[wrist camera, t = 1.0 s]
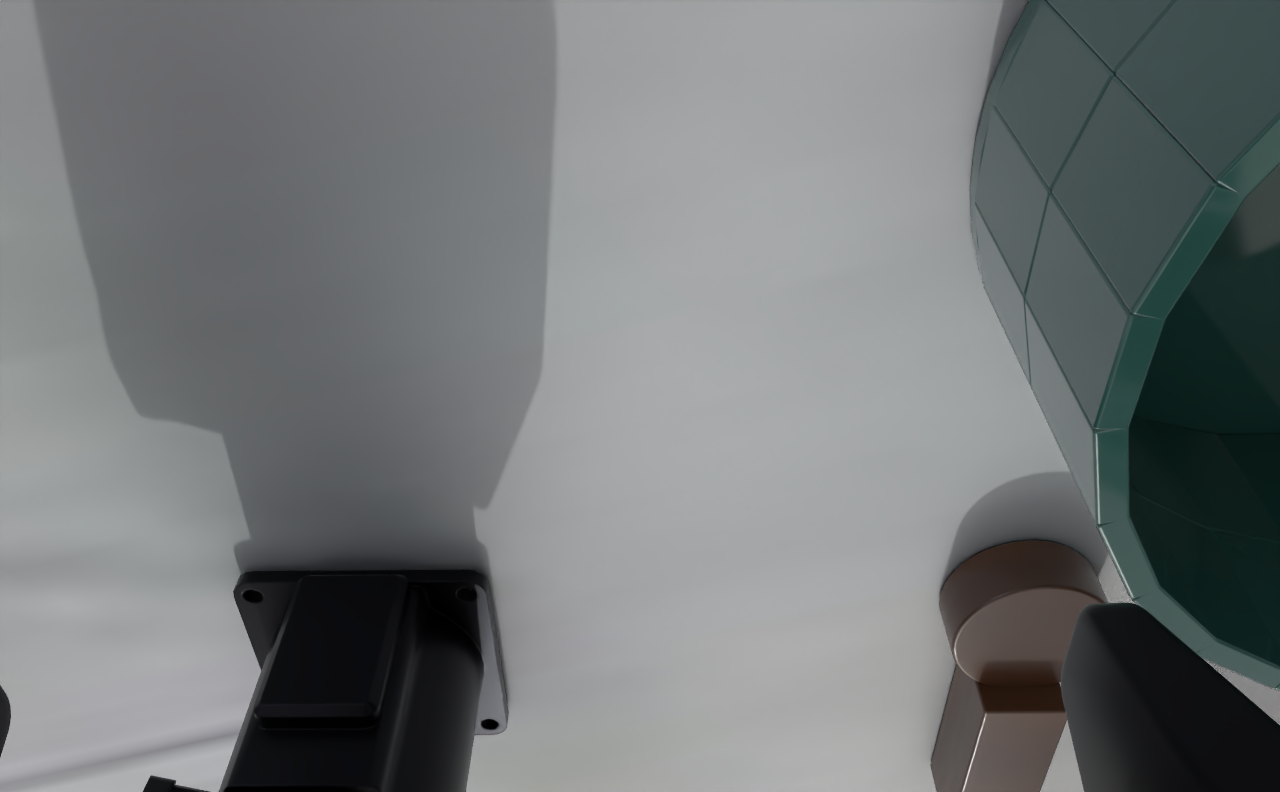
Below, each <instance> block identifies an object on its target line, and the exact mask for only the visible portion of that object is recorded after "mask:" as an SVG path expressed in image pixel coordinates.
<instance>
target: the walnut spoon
mask: <svg viewBox="0 0 1280 792" xmlns="http://www.w3.org/2000/svg"><path fill="white" fill-rule="evenodd" d="M1102 603H1108V601H1107V598H1106V596H1105V594H1104V592H1103V589H1102V587H1101V585H1100V583H1099V580H1098V578H1097V576H1096V574H1095V572H1094V569H1093V567H1092V566H1091V564H1090V563H1089V562H1088V561H1087V559H1086V558H1085V557H1083V556H1082V555H1081V554H1079V553H1078V552H1077V551H1075V550H1073V549H1071V548H1070V547H1067V546H1064V545H1062V544H1058V543H1054V542H1048V541H1038V540H1028V541H1017V542H1010V543H1006V544H1002V545H998V546H995V547H992V548H989V549H987V550H985V551H982V552H980V553H978V554H976V555H975V556H973V557H971V558H970V559H968V560H967V561H965V562H964V563H963V564H961V565H960V566H959V567H958V568H957V569H956V570H955V571H954V572H953V573H952V574H951V575H950V577H949V578H948V579H947V581H946V583H945V584H944V586H943V589H942V592H941V595H940V602H939V605H940V612H941V615H942V619H943V622H944V626H945V630H946V633H947V637H948V640H949V644H950V647H951V651H952V654H953V658H954V660H955V662H956V664H957V665H956V669H955V673H954V677H953V681H952V685H951V689H950V692H949V696H948V700H947V704H946V708H945V712H944V716H943V719H942V723H941V727H940V731H939V735H938V739H937V743H936V747H935V750H934V754H933V758H932V762H931V770H932V774H933V778H934V783H935V787H936V791H937V792H1040V790H1041V787H1042V785H1043V782H1044V779H1045V777H1046V774H1047V771H1048V769H1049V766H1050V764H1051V761H1052V758H1053V756H1054V753H1055V750H1056V748H1057V745H1058V742H1059V740H1060V737H1061V734H1062V732H1063V729H1064V726H1065V724H1066V721H1067V716H1066V712H1065V707H1064V703H1063V698H1062V691H1061V686H1060V683H1059V682H1061V671H1062V667H1063V663H1064V660H1065V656H1066V653H1067V650H1068V647H1069V643H1070V640H1071V637H1072V633H1073V630H1074V627H1075V623H1076V620H1077V617H1078V615H1079V613H1080V611H1081V610H1082V609H1083V608H1084V607H1085V606H1086V605H1089V604H1102Z"/></svg>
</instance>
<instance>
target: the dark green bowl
mask: <svg viewBox="0 0 1280 792" xmlns="http://www.w3.org/2000/svg"><path fill="white" fill-rule="evenodd" d="M970 208H971V232H972V237H973V242H974V247H975V253H976V258H977V263H978V268H979V271H980V274H981V277H982V283H983V285H984V289H985V291H986V293H987V295H988V297H989V300H990V302H991V304H992V306H993V308H994V310H995V312H996V314H997V317H998V319H999V321H1000V323H1001V325H1002V327H1003V329H1004V331H1005V334H1006V336H1007V338H1008V340H1009V342H1010V344H1011V346H1012V348H1013V351H1014V353H1015V355H1016V357H1017V359H1018V361H1019V363H1020V365H1021V368H1022V370H1023V372H1024V374H1025V376H1026V378H1027V380H1028V382H1029V385H1030V387H1031V389H1032V391H1033V393H1034V395H1035V397H1036V399H1037V402H1038V404H1039V406H1040V408H1041V410H1042V412H1043V414H1044V416H1045V419H1046V421H1047V423H1048V425H1049V427H1050V429H1051V431H1052V433H1053V436H1054V438H1055V440H1056V442H1057V444H1058V446H1059V448H1060V450H1061V453H1062V455H1063V457H1064V459H1065V461H1066V463H1067V465H1068V467H1069V470H1070V472H1071V474H1072V476H1073V478H1074V480H1075V482H1076V484H1077V487H1078V489H1079V491H1080V493H1081V495H1082V497H1083V499H1084V501H1085V504H1086V506H1087V508H1088V510H1089V512H1090V514H1091V516H1092V518H1093V521H1094V523H1095V525H1096V527H1097V529H1098V531H1099V533H1100V535H1101V538H1102V540H1103V542H1104V544H1105V546H1106V548H1107V550H1108V552H1109V554H1110V557H1111V559H1112V561H1113V563H1114V565H1115V567H1116V569H1117V571H1118V573H1119V576H1120V578H1121V580H1122V582H1123V584H1124V586H1125V588H1126V590H1127V593H1128V595H1129V596H1130V597H1131V599H1132V601H1133V602H1135V603H1136V604H1137V605H1138V606H1140V607H1142V608H1144V609H1145V610H1147V611H1148V612H1149V613H1150V614H1151V615H1153V616H1154V617H1155V618H1156V619H1157V620H1158V621H1159V622H1161V623H1162V624H1163V625H1164V626H1165V627H1166V628H1168V629H1169V630H1170V631H1171V632H1172V633H1173V634H1175V635H1176V636H1177V637H1178V638H1179V639H1180V640H1181V641H1183V642H1184V643H1185V644H1186V645H1187V646H1188V647H1190V648H1191V649H1192V650H1193V651H1194V652H1195V653H1196V654H1198V655H1199V656H1200V657H1201V658H1202V659H1205V660H1207V661H1209V662H1212V663H1214V664H1216V665H1219V666H1221V667H1223V668H1225V669H1228V670H1230V671H1232V672H1235V673H1237V674H1239V675H1241V676H1244V677H1246V678H1248V679H1251V680H1253V681H1255V682H1257V683H1260V684H1262V685H1264V686H1267V687H1269V688H1274V689H1276V690H1279V691H1280V0H1030V1H1029V3H1028V5H1027V7H1026V8H1025V10H1024V12H1023V14H1022V16H1021V18H1020V20H1019V21H1018V23H1017V25H1016V27H1015V29H1014V31H1013V33H1012V35H1011V36H1010V38H1009V40H1008V42H1007V45H1006V47H1005V50H1004V53H1003V55H1002V58H1001V60H1000V63H999V65H998V68H997V70H996V73H995V75H994V78H993V80H992V83H991V85H990V88H989V91H988V93H987V97H986V101H985V105H984V109H983V113H982V117H981V121H980V125H979V128H978V132H977V136H976V140H975V147H974V156H973V165H972V173H971V182H970Z"/></svg>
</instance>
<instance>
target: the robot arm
mask: <svg viewBox="0 0 1280 792" xmlns="http://www.w3.org/2000/svg"><path fill="white" fill-rule="evenodd" d="M465 588H470V589H473V590H468V589H465ZM255 590H256V591H255ZM233 592H234V598H235V601H236V604H237V606H238V609H239V612H240V614H241V617H242V620H243V622H244V625H245V628H246V630H247V633H248V636H249V638H250V641H251V644H252V647H253V649H254V652H255V655H256V657H257V660H258V663H259V665H260V668H261V674H260V676H259V679H258V682H257V685H256V688H255V691H254V693H253V696H252V699H251V702H250V705H249V708H248V710H247V713H246V716H245V719H244V722H243V725H242V727H241V730H240V733H239V736H238V739H237V742H236V744H235V747H234V750H233V753H232V756H231V759H230V761H229V764H228V767H227V770H226V773H225V775H224V778H223V781H222V784H221V787H220V790H219V792H466V786H467V780H468V773H469V767H470V760H471V753H472V747H473V740H474V735H494V734H499V733H501V732H503V731H504V730H505V729H506V728H507V722H508V714H509V711H508V705H507V698H506V692H505V685H504V679H503V673H502V666H501V660H500V653H499V647H498V640H497V634H496V627H495V621H494V614H493V608H492V601H491V595H490V588H489V582H488V580H487V578H486V577H485V576H484V575H483V574H481V573H479V572H477V571H473V570H362V571H252V572H246V573H244V574H242V575H241V576H240V578H239V579H238V581H237V584H236V586H235V589H234V591H233ZM1061 691H1062V698H1063V703H1064V707H1065V712H1066V716H1067V720H1068V724H1069V729H1070V733H1071V737H1072V741H1073V746H1074V750H1075V754H1076V758H1077V763H1078V767H1079V771H1080V775H1081V780H1082V784H1083V788H1084V792H1280V725H1279V724H1277V723H1276V722H1275V721H1274V720H1273V719H1272V718H1271V717H1269V716H1268V715H1267V714H1266V713H1265V712H1264V711H1262V710H1261V709H1260V708H1259V707H1258V706H1257V705H1255V704H1254V703H1253V702H1252V701H1251V700H1250V699H1249V698H1247V697H1246V696H1245V695H1244V694H1243V693H1242V692H1240V691H1239V690H1238V689H1237V688H1236V687H1235V686H1234V685H1232V684H1231V683H1230V682H1229V681H1228V680H1227V679H1225V678H1224V677H1223V676H1222V675H1221V674H1220V673H1218V672H1217V671H1216V670H1215V669H1214V668H1213V667H1212V666H1210V665H1209V664H1208V663H1207V662H1206V661H1205V660H1203V659H1202V658H1201V657H1200V656H1199V655H1198V654H1196V653H1195V652H1194V651H1193V650H1192V649H1191V648H1190V647H1188V646H1187V645H1186V644H1185V643H1184V642H1183V641H1181V640H1180V639H1179V638H1178V637H1177V636H1176V635H1175V634H1173V633H1172V632H1171V631H1170V630H1169V629H1168V628H1166V627H1165V626H1164V625H1163V624H1162V623H1161V622H1159V621H1158V620H1157V619H1156V618H1155V617H1154V616H1153V615H1151V614H1150V613H1149V612H1148V611H1147V610H1145V609H1144V608H1142V607H1140V606H1138V605H1136V604H1133V603H1102V604H1089V605H1086V606H1085V607H1084V608H1083V609H1082V610H1081V611H1080V613H1079V615H1078V617H1077V620H1076V623H1075V627H1074V630H1073V633H1072V637H1071V640H1070V643H1069V647H1068V650H1067V653H1066V656H1065V660H1064V663H1063V667H1062V671H1061ZM10 719H11V710H10V703H9V699H8V697H7V695H6V693H5V692H4V690H3V689H2V687H1V685H0V757H1V753H2V750H3V747H4V744H5V740H6V737H7V734H8V731H9V726H10ZM175 784H176V780H171V779H166V778H161V777H157V776H152V775H151V776H150V778H149V780H148V782H147V784H146V786H145V788H144V790H143V792H209V791H204V790H199V789H194V788H189V787H184V786H179V785H175Z"/></svg>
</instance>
